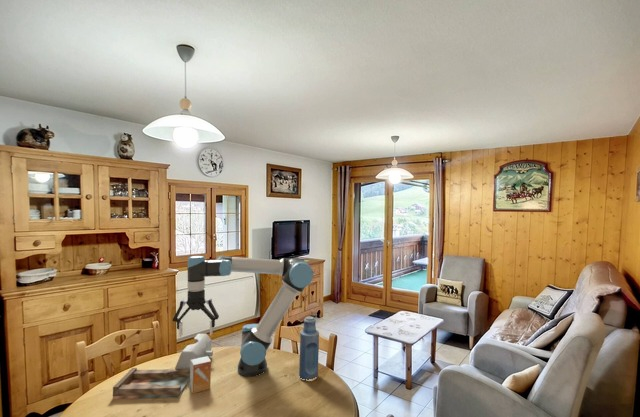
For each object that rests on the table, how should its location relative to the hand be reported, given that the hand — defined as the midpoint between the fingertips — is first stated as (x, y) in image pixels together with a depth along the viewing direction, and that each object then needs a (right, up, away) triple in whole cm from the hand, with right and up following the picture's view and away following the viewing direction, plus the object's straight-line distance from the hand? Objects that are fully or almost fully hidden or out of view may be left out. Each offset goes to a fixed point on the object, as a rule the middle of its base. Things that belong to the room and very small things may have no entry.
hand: (196, 335), depth 150 cm
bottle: (+52, -26, +12) cm, 59 cm away
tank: (-8, -25, +22) cm, 34 cm away
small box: (+2, -25, 0) cm, 25 cm away
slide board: (-19, -24, -1) cm, 31 cm away
